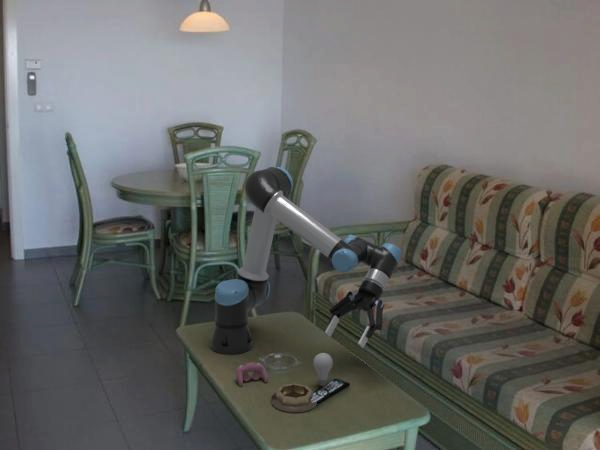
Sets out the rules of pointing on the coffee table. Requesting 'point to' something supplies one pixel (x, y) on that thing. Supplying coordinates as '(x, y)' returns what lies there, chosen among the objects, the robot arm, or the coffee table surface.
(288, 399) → the socket
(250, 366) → the video game controller
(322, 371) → the lightbulb
